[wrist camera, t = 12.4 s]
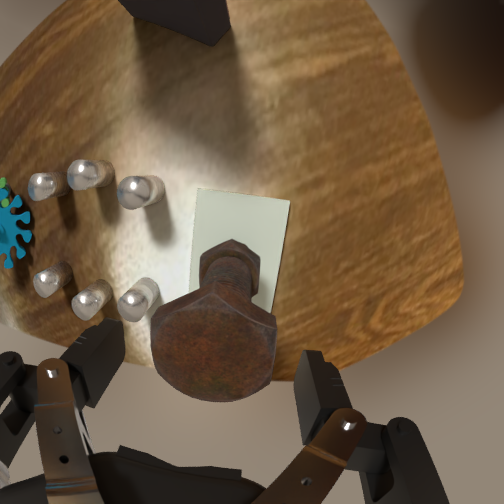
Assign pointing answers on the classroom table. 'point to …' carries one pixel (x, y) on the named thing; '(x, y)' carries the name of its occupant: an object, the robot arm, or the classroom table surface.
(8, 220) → the gear
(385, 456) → the robot arm
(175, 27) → the dark grey slab
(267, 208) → the plate
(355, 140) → the classroom table surface
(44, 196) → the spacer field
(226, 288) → the bolt
